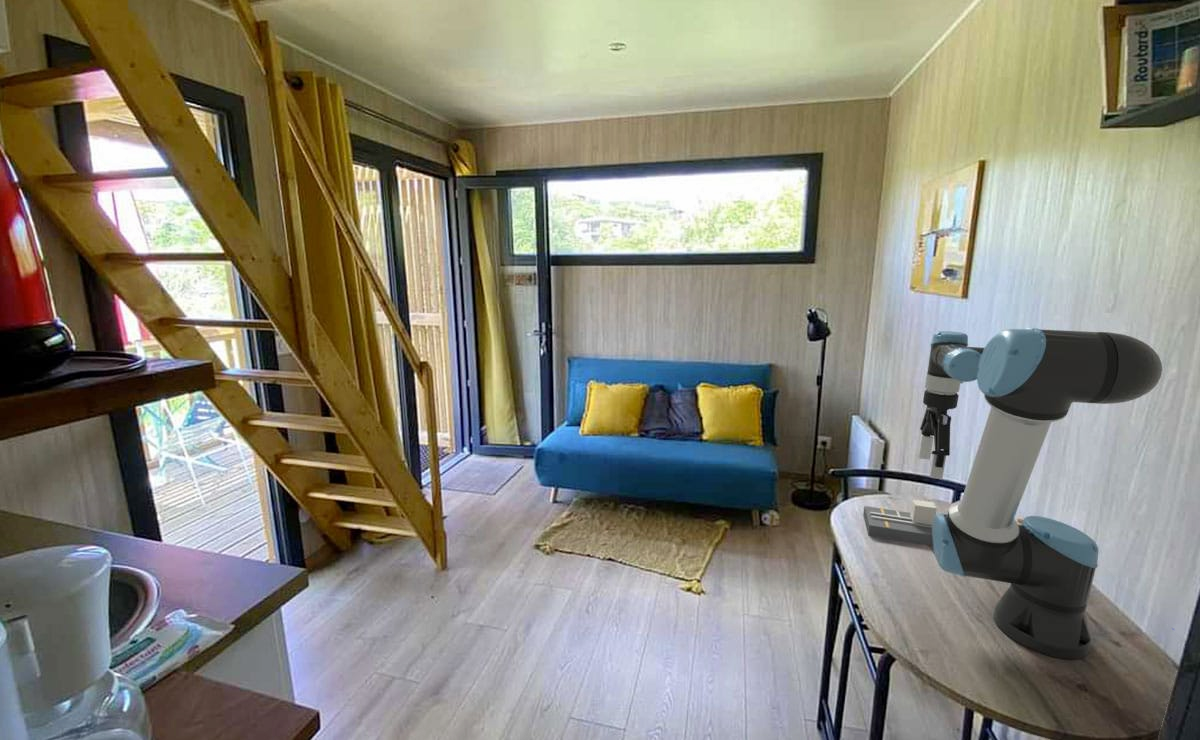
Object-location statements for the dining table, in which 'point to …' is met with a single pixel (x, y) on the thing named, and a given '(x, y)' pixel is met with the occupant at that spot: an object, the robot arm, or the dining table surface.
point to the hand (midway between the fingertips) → (929, 467)
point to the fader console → (896, 526)
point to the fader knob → (923, 512)
